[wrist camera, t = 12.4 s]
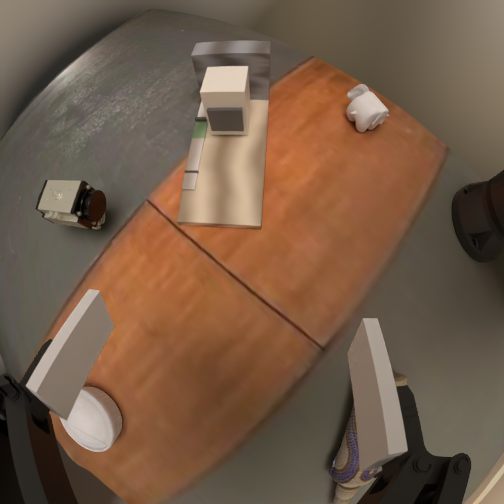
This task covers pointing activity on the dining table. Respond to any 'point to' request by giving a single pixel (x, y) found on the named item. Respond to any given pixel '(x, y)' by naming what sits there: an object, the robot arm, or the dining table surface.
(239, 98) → the block
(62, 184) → the pneumatic valve
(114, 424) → the ramekin
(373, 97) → the elephant figurine
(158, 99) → the dining table surface
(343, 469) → the decorative bottle
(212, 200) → the board
